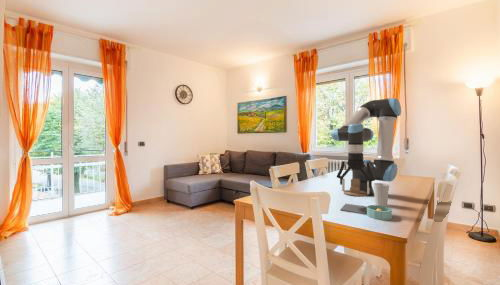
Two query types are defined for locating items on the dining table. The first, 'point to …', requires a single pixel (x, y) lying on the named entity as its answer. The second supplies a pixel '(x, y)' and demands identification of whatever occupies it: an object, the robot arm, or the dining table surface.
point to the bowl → (379, 212)
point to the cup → (381, 194)
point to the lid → (355, 189)
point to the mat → (354, 208)
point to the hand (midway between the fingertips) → (355, 192)
